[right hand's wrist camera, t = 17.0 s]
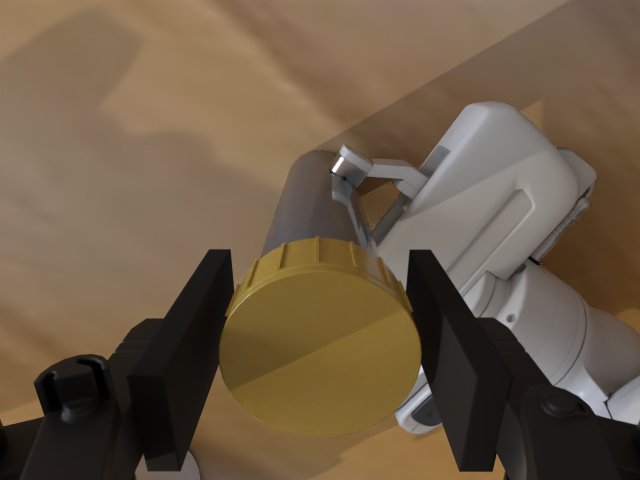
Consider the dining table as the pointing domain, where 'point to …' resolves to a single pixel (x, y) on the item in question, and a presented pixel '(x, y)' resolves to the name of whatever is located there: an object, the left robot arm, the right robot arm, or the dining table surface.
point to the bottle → (318, 206)
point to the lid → (320, 339)
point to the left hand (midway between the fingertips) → (306, 201)
